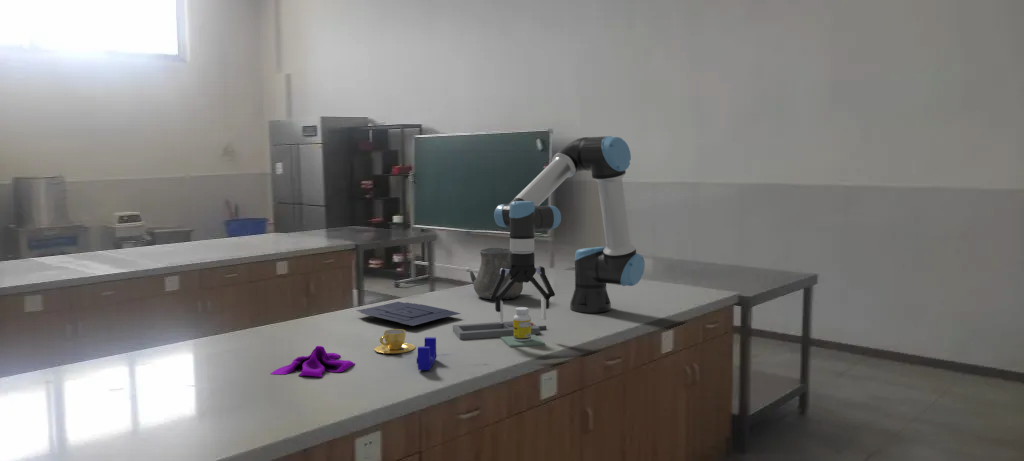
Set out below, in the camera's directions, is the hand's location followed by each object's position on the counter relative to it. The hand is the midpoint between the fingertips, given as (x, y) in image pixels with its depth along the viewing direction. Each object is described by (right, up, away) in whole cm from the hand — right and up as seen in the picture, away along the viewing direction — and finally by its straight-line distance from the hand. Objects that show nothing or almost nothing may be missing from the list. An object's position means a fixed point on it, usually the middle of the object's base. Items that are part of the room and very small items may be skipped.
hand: (522, 320), depth 227 cm
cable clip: (-27, -9, -23) cm, 37 cm away
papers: (-40, -4, +33) cm, 52 cm away
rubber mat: (0, -7, +1) cm, 7 cm away
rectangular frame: (-6, -5, +13) cm, 16 cm away
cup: (-38, -8, -7) cm, 39 cm away
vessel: (-8, 0, +72) cm, 72 cm away
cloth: (-57, -10, -25) cm, 63 cm away
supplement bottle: (0, -6, +1) cm, 6 cm away
